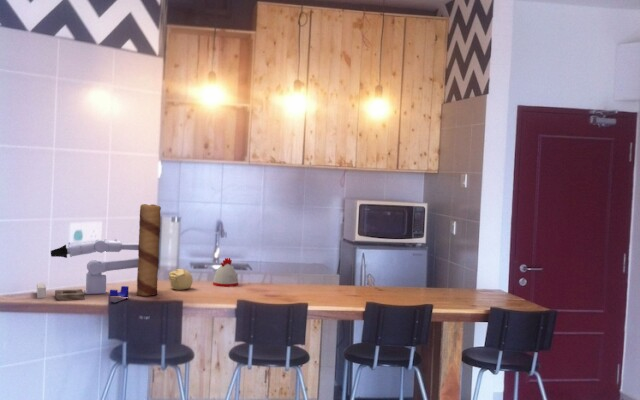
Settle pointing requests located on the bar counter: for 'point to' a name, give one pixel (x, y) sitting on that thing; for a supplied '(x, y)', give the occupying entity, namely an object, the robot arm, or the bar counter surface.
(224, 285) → the pompom beanie hat
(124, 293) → the cable clip
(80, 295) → the brown square tray
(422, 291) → the bar counter surface
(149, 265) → the wafer roll
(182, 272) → the sculpture
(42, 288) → the bar
